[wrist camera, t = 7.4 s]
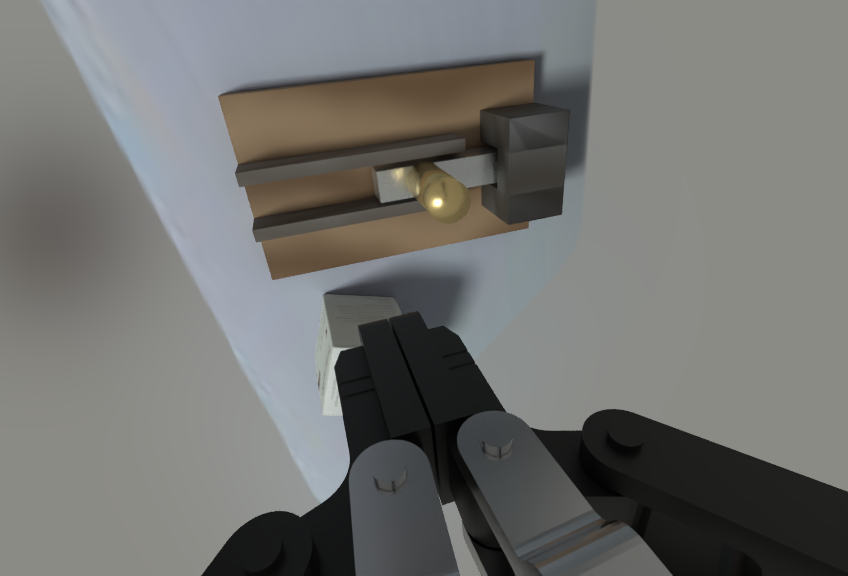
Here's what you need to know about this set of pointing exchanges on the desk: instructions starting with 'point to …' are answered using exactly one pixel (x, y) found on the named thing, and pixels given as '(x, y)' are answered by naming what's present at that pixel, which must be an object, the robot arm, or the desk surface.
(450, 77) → the plate
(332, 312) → the skincare box
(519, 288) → the desk surface
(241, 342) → the desk surface
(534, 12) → the desk surface
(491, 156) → the slide latch
